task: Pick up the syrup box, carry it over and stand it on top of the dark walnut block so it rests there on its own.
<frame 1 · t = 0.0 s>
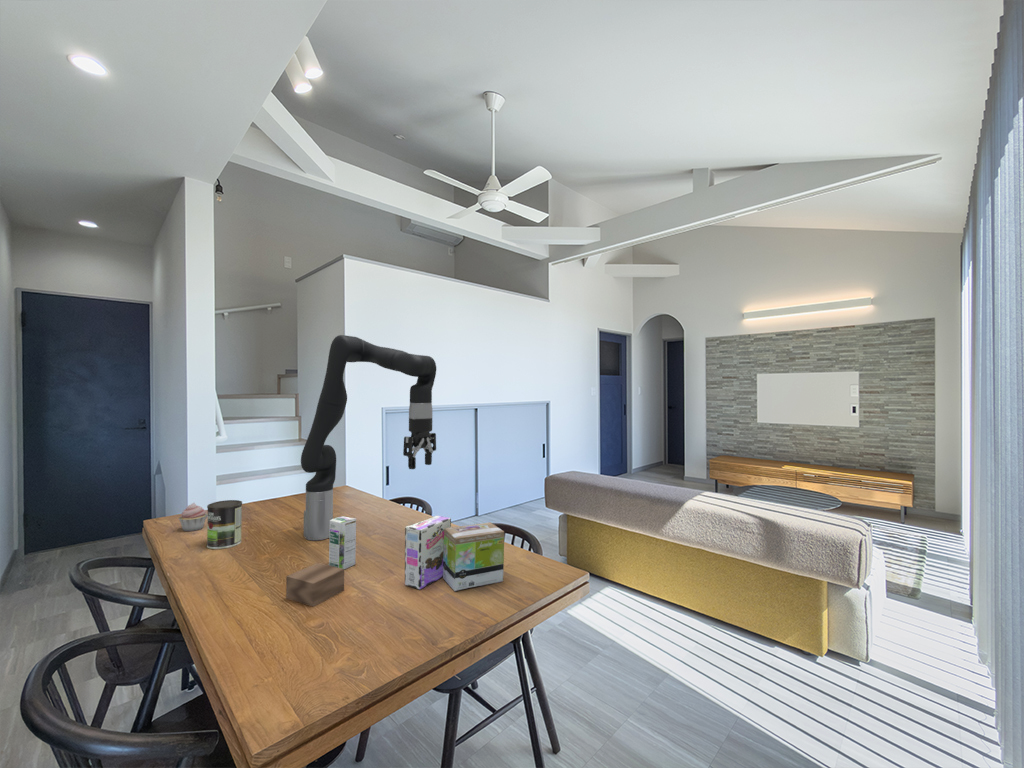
hand: (420, 466, 146), 29 cm above the table, fingers open, 8 cm apart
tea box: (473, 581, 129), on the table
syrup box: (342, 566, 139), on the table
walnut block: (315, 595, 120), on the table
coffee can: (224, 544, 157), on the table
candy box: (428, 579, 130), on the table
cupcake: (193, 529, 173), on the table
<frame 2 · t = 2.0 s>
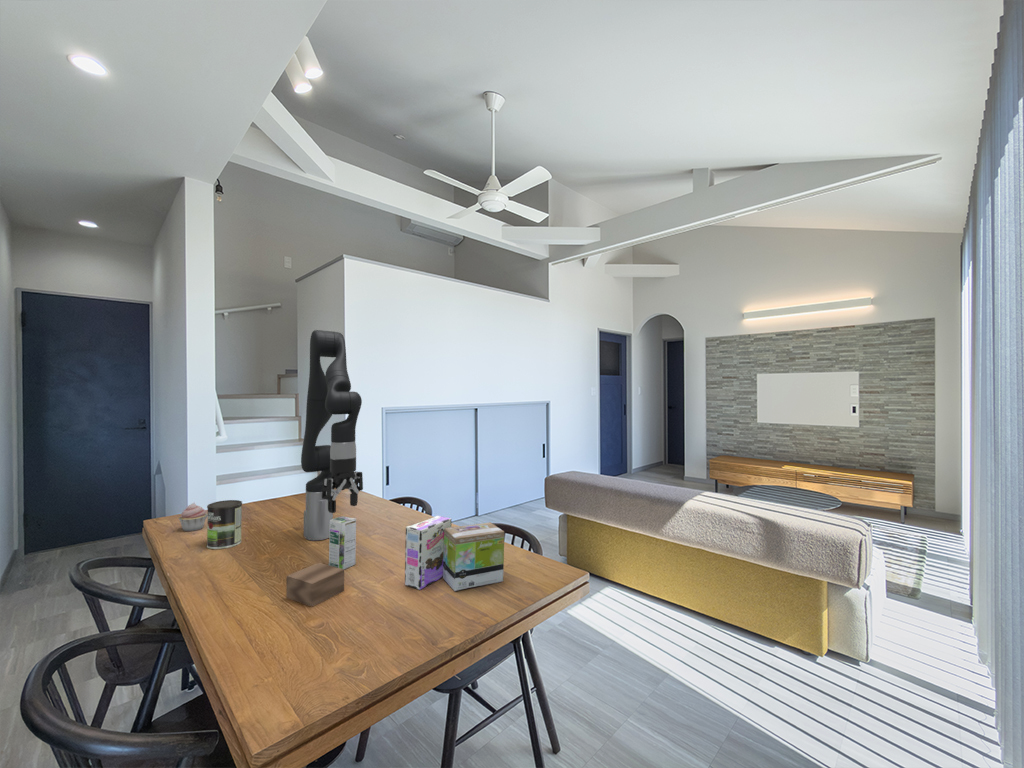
hand: (343, 509, 139), 17 cm above the table, fingers open, 8 cm apart
nothing on the table moved.
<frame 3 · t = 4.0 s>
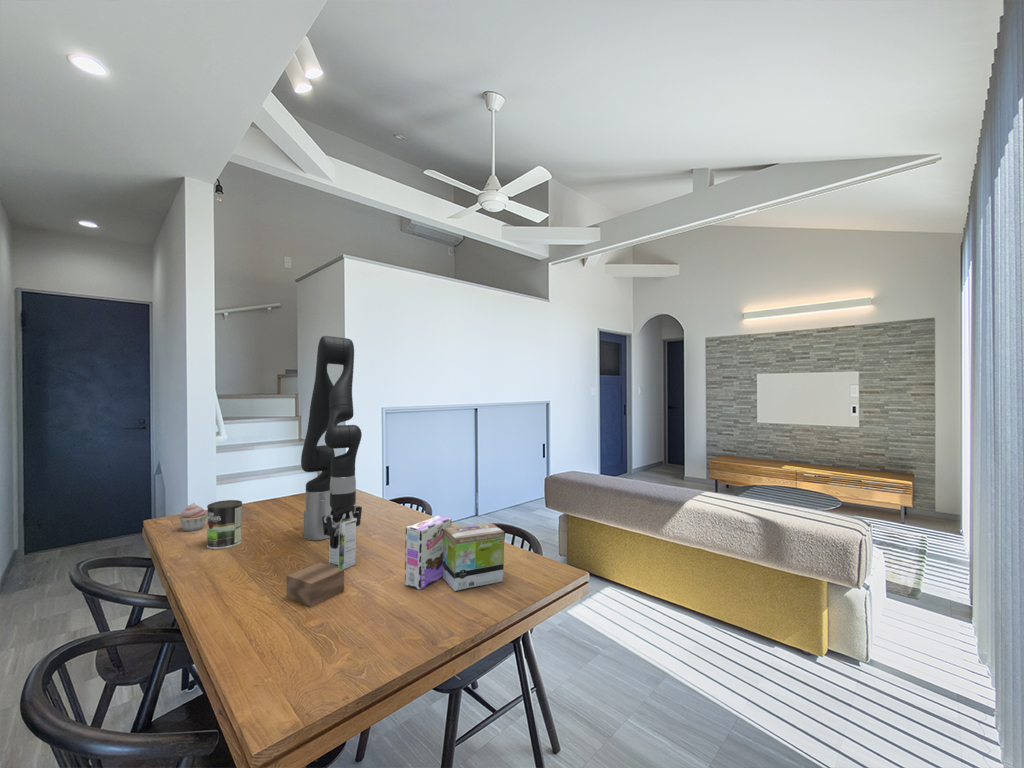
hand: (342, 544, 139), 7 cm above the table, fingers closed on syrup box, 6 cm apart
syrup box: (342, 566, 138), on the table, touching gripper
everything else where it was.
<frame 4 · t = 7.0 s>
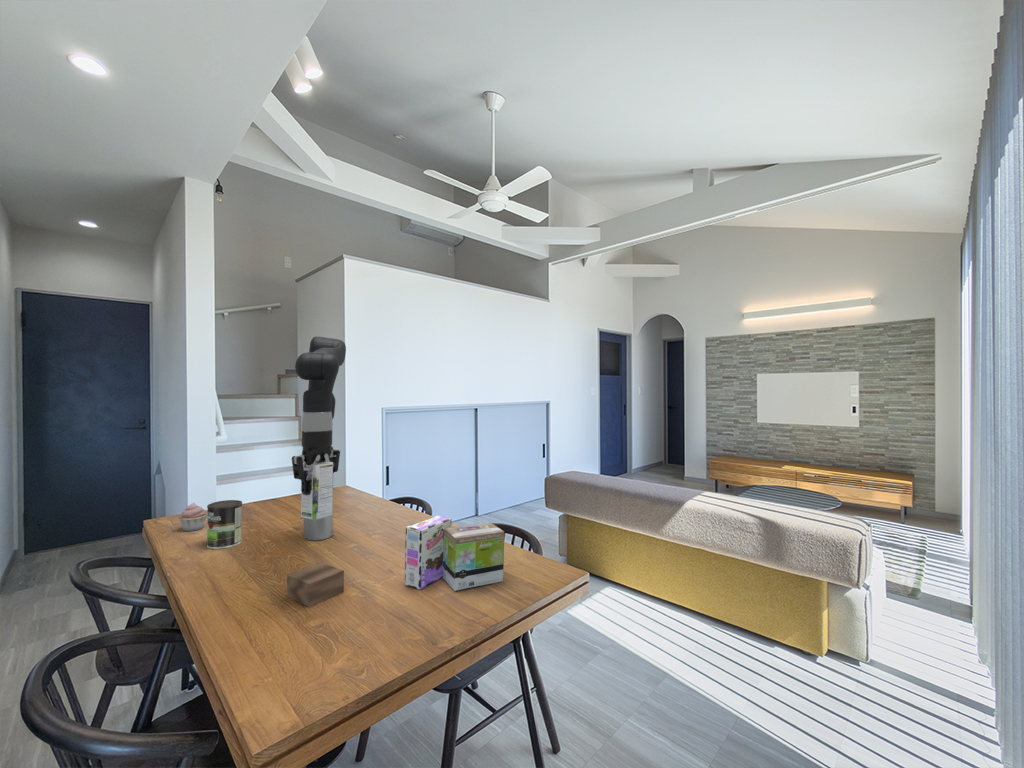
hand: (316, 491, 120), 27 cm above the table, fingers closed on syrup box, 6 cm apart
syrup box: (316, 517, 120), point 20 cm above the table, touching gripper
everything else where it was.
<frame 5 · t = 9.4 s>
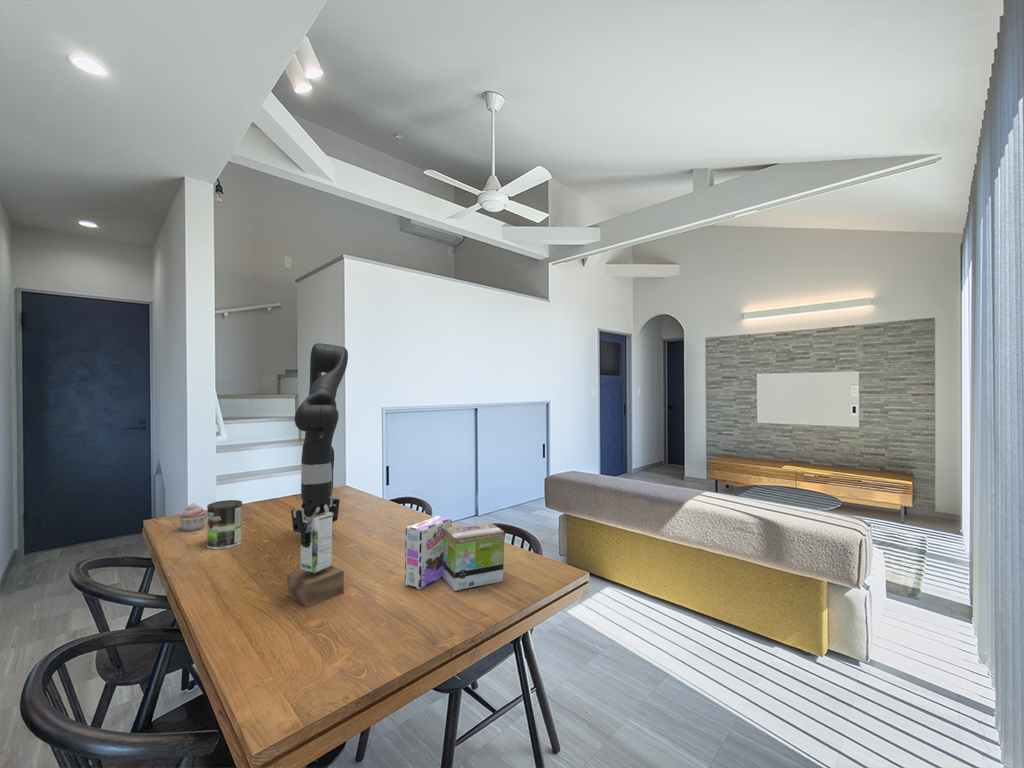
hand: (316, 542, 120), 14 cm above the table, fingers closed on syrup box, 6 cm apart
syrup box: (316, 568, 120), point 7 cm above the table, touching gripper
everything else where it was.
when the fingers open (13 cm above the table, at t = 10.4 s): syrup box drops 1 cm, resting on walnut block.
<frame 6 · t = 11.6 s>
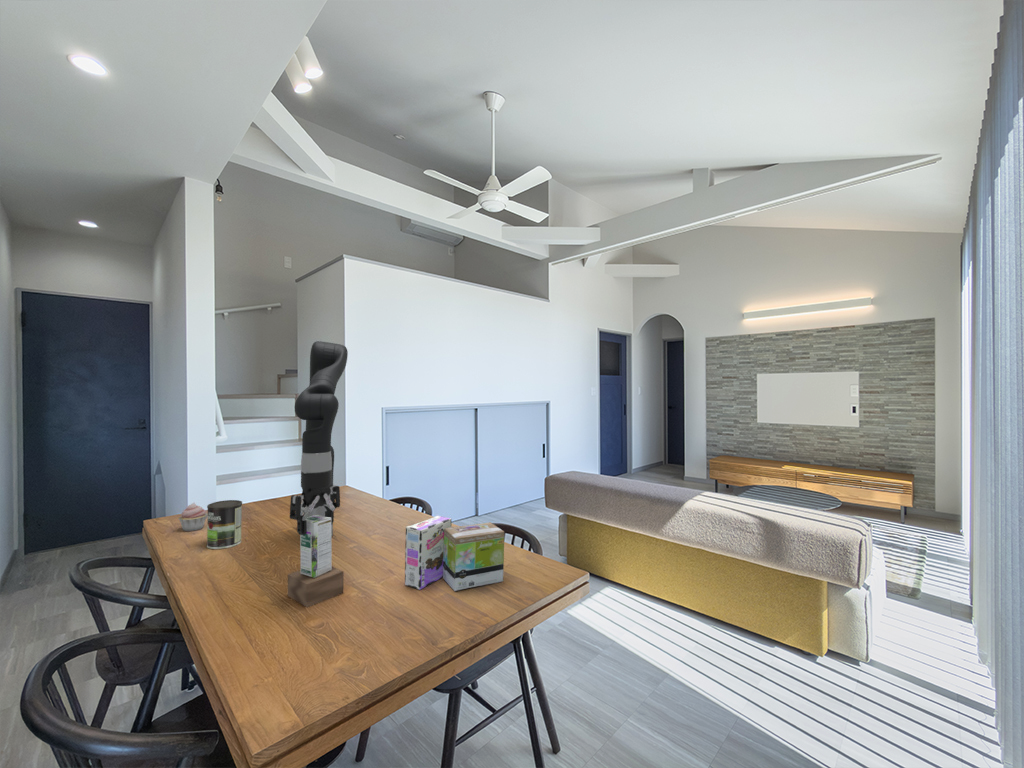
hand: (315, 529, 120), 17 cm above the table, fingers open, 8 cm apart
syrup box: (316, 572, 120), point 6 cm above the table, touching walnut block
walnut block: (315, 595, 120), on the table, touching syrup box
everything else where it was.
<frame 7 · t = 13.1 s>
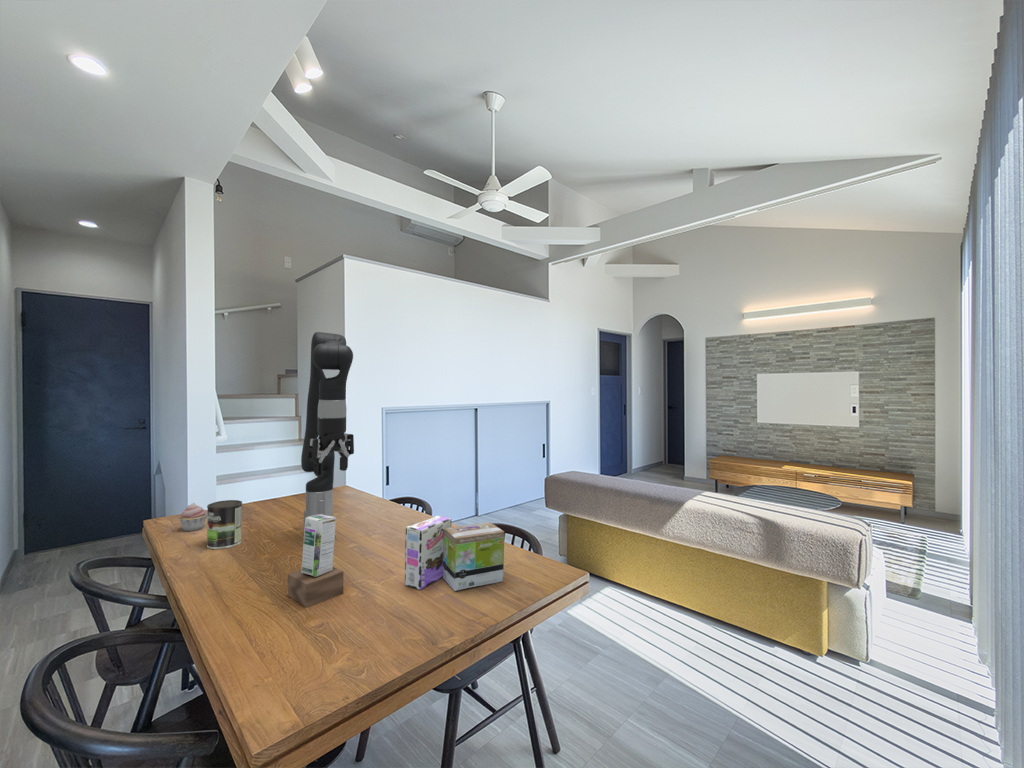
hand: (331, 473, 127), 31 cm above the table, fingers open, 8 cm apart
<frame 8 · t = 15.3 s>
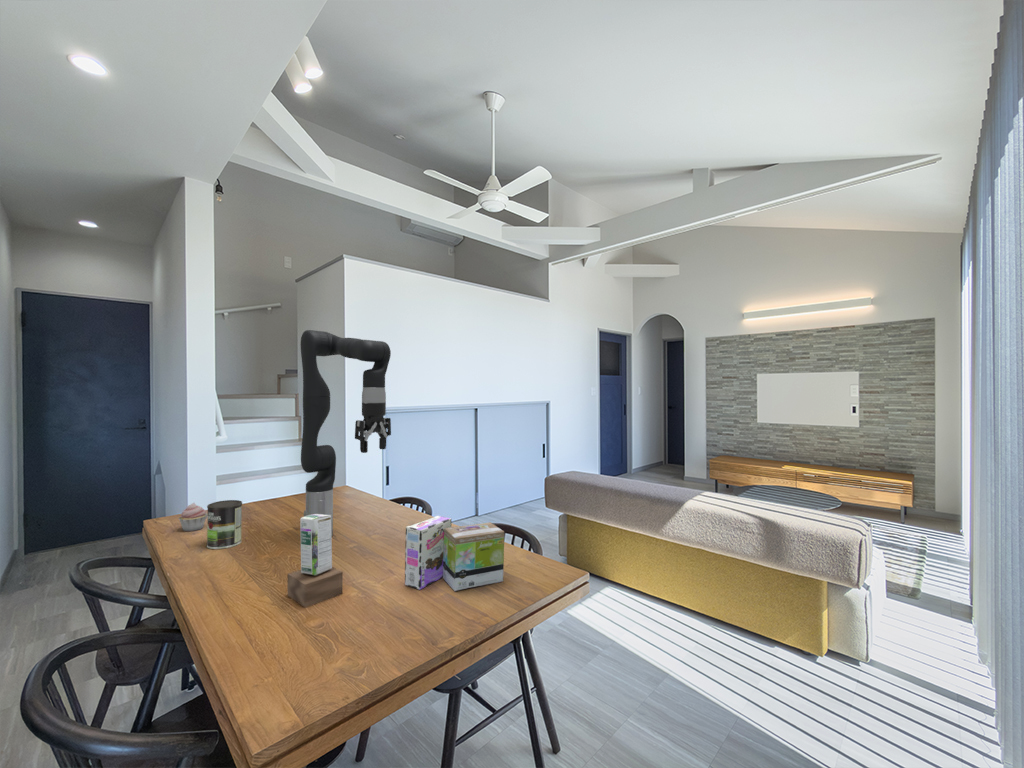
hand: (373, 450, 148), 34 cm above the table, fingers open, 8 cm apart
syrup box: (316, 571, 120), point 6 cm above the table
walnut block: (315, 595, 120), on the table
everything else where it was.
at the end: syrup box inside the target area on the walnut block (0.4 cm from its centre), point 6.1 cm above the walnut block's base; syrup box tilted 5°; the gripper is holding nothing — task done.
